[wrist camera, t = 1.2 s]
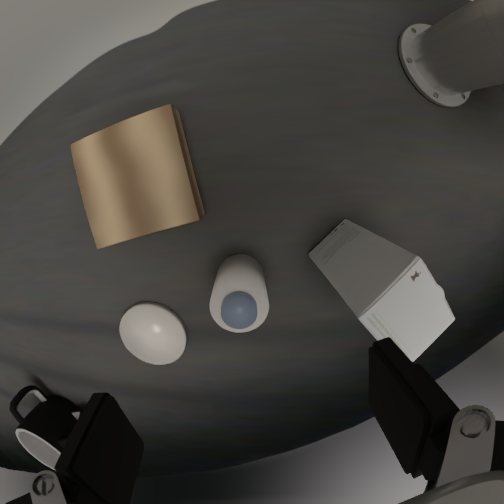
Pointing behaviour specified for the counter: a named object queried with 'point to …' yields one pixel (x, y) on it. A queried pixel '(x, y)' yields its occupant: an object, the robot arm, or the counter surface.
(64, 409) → the mug
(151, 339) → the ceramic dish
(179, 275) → the counter surface
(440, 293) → the skincare box
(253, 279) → the reagent bottle
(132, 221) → the oak slab
